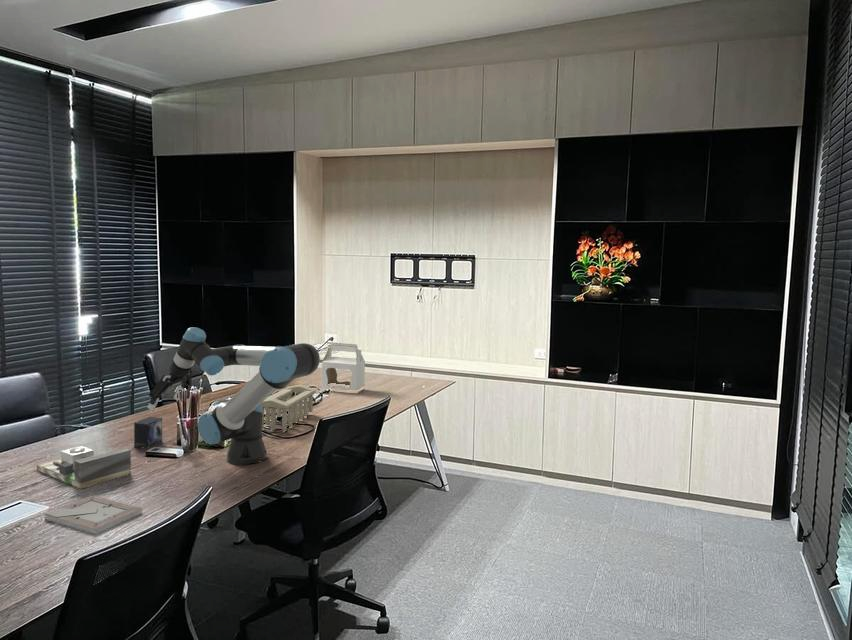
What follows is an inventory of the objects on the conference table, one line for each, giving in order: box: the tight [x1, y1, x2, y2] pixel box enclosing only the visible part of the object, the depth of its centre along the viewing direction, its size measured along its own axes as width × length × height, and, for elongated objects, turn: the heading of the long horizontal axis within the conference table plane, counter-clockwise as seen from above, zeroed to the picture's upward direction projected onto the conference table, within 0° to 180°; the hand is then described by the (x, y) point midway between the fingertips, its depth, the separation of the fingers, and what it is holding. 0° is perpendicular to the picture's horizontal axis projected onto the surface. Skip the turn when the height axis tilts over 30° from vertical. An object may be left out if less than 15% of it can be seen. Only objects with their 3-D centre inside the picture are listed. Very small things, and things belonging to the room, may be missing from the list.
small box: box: [133, 416, 163, 449], centre depth 262 cm, size 11×6×10 cm, turn 168°
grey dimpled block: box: [57, 445, 95, 470], centre depth 229 cm, size 8×13×5 cm, turn 147°
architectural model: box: [261, 384, 317, 431], centre depth 302 cm, size 35×15×15 cm, turn 168°
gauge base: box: [36, 447, 132, 490], centre depth 229 cm, size 30×18×9 cm, turn 57°
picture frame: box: [44, 495, 143, 535], centre depth 193 cm, size 16×2×22 cm
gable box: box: [321, 342, 366, 390], centre depth 371 cm, size 22×13×28 cm, turn 75°
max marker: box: [59, 463, 72, 475], centre depth 221 cm, size 4×2×3 cm, turn 57°
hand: (163, 404), depth 251 cm, fingers open, 13 cm apart
